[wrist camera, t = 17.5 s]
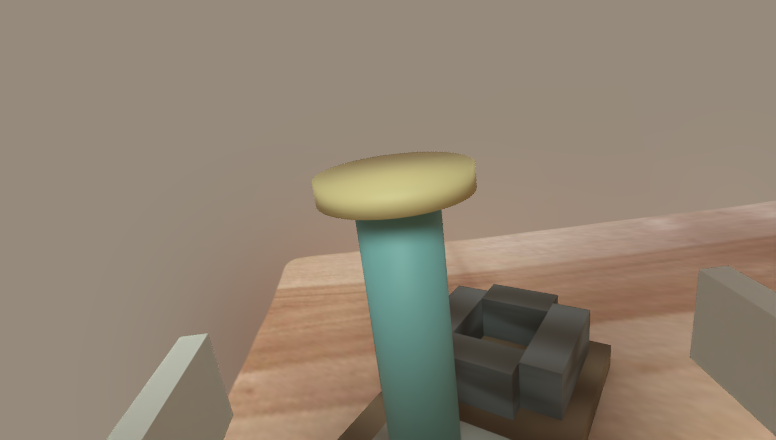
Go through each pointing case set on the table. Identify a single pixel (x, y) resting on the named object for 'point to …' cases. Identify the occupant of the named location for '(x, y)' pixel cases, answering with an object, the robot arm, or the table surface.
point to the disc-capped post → (406, 277)
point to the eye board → (515, 369)
